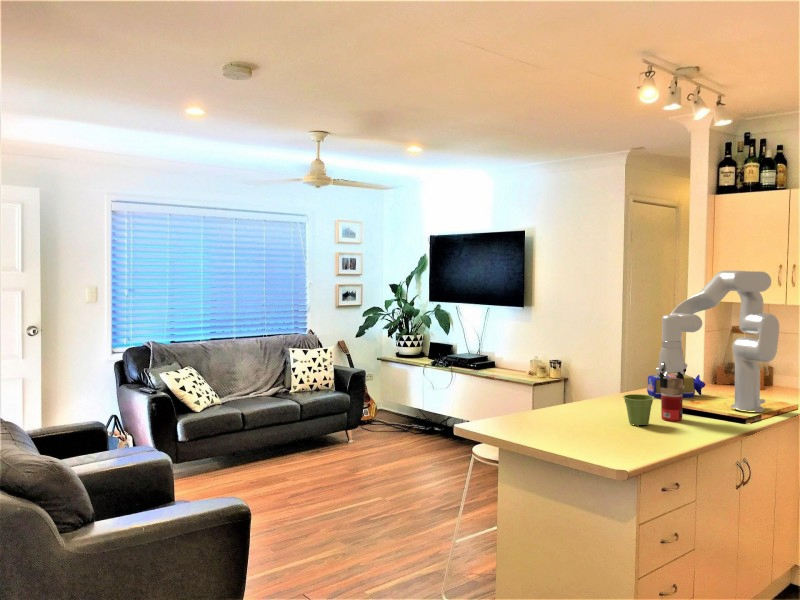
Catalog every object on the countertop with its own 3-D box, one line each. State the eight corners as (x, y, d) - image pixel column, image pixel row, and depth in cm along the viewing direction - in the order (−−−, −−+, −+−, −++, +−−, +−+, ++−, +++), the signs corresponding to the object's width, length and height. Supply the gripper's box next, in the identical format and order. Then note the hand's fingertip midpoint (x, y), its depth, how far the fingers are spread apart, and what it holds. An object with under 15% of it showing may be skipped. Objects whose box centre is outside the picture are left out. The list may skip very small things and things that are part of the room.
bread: (645, 394, 308) (645, 374, 308) (695, 393, 308) (695, 372, 308) (653, 399, 298) (653, 377, 297) (705, 398, 298) (705, 376, 297)
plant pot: (655, 422, 257) (655, 394, 256) (653, 429, 246) (653, 400, 246) (624, 419, 262) (624, 392, 261) (621, 426, 251) (621, 398, 250)
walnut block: (670, 391, 263) (670, 377, 263) (683, 393, 258) (683, 379, 258) (660, 392, 261) (660, 378, 260) (673, 395, 255) (673, 380, 255)
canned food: (684, 422, 256) (684, 395, 255) (663, 421, 257) (663, 395, 256) (679, 417, 263) (680, 391, 262) (659, 417, 265) (659, 391, 264)
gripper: (678, 342, 266) (678, 382, 267) (649, 345, 258) (649, 387, 259) (694, 344, 259) (694, 385, 260) (664, 347, 251) (664, 390, 252)
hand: (671, 386), depth 259 cm, fingers open, 9 cm apart
